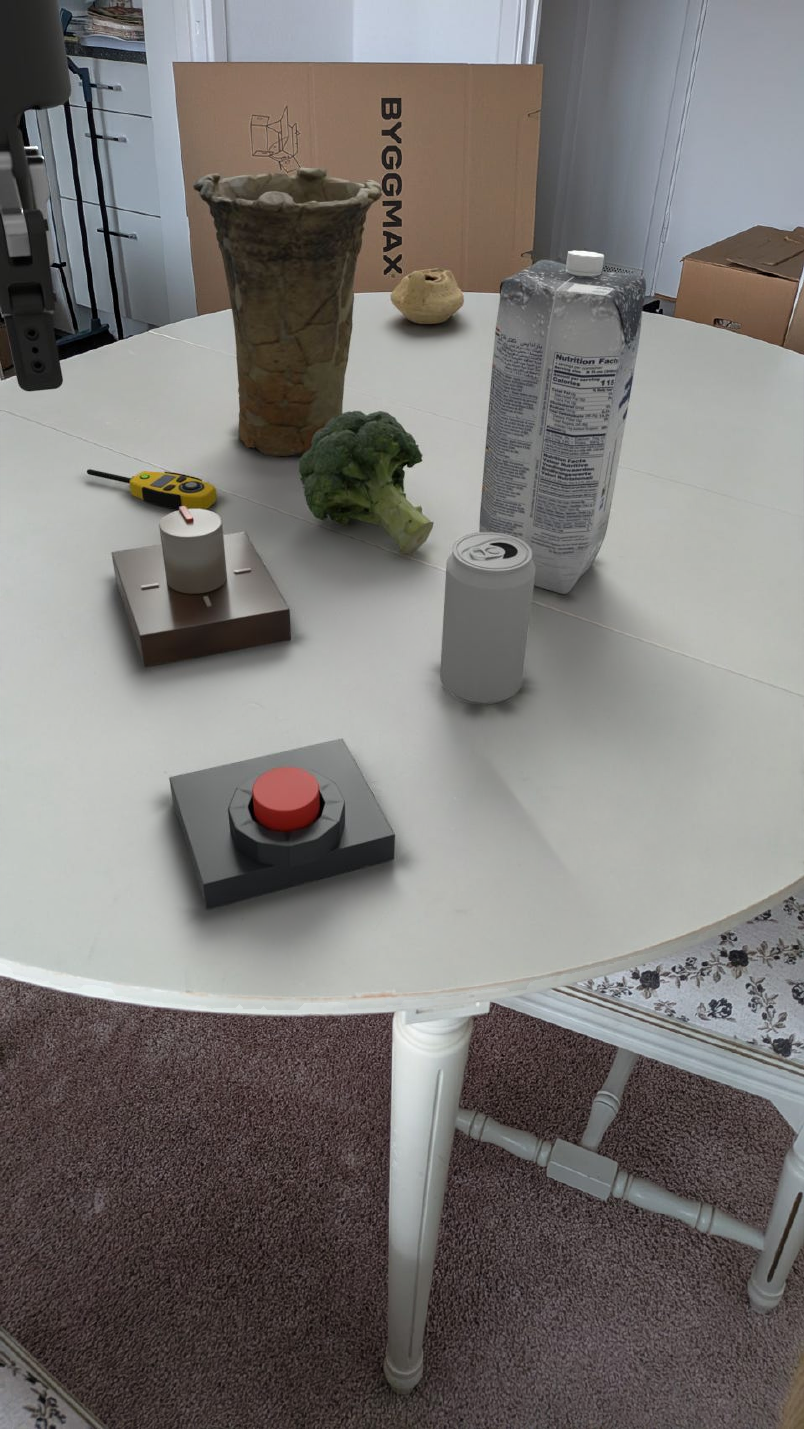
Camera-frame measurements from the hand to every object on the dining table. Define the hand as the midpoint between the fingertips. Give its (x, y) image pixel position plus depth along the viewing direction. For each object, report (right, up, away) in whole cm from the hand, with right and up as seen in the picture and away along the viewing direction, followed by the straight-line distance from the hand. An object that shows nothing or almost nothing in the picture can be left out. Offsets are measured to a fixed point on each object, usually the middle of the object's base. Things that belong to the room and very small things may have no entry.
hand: (40, 385), depth 52 cm
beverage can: (+25, -15, +26) cm, 39 cm away
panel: (+1, -8, +33) cm, 34 cm away
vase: (+7, +15, +64) cm, 66 cm away
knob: (+2, -6, +32) cm, 32 cm away
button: (+12, -23, +9) cm, 27 cm away
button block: (+11, -25, +13) cm, 30 cm away
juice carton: (+31, -4, +41) cm, 52 cm away
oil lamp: (+23, +43, +101) cm, 112 cm away
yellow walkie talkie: (-7, +6, +51) cm, 52 cm away
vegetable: (+16, +1, +46) cm, 49 cm away
